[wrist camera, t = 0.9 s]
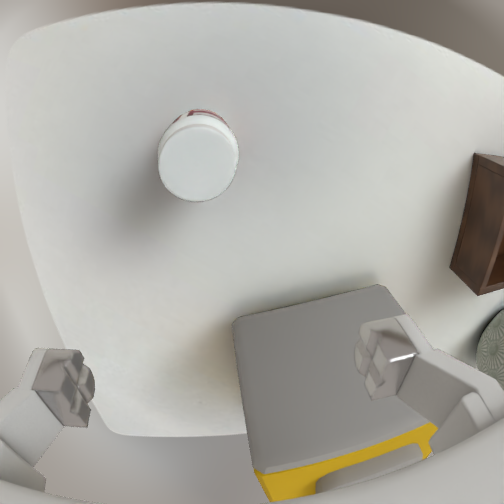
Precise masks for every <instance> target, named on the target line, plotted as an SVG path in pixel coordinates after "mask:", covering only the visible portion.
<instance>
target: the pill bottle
mask: <svg viewBox="0 0 504 504" xmlns="http://www.w3.org/2000/svg"><path fill="white" fill-rule="evenodd" d="M157 156H158V170H159V175H160V178H161V180H162V182H163V184H164V186H165V187H166V188H167V189H168V190H169V191H170V192H171V193H172V194H173V195H174V196H176V197H178V198H180V199H182V200H186V201H190V202H203V201H208V200H211V199H213V198H215V197H217V196H219V195H220V194H221V193H223V192H224V191H225V190H226V189H227V188H228V186H229V185H230V184H231V182H232V180H233V178H234V175H235V172H236V168H237V165H238V160H239V149H238V143H237V140H236V137H235V136H234V134H233V132H232V131H231V129H230V128H229V126H228V125H227V123H226V122H225V121H224V119H223V118H222V117H221V116H219V115H218V114H216V113H215V112H212V111H210V110H205V109H195V110H191V111H188V112H185V113H184V114H182V115H181V116H179V117H178V118H177V119H176V120H175V121H174V122H173V123H172V125H171V126H169V127H168V129H167V130H166V131H165V133H164V134H163V136H162V138H161V140H160V143H159V146H158V154H157Z"/></svg>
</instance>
